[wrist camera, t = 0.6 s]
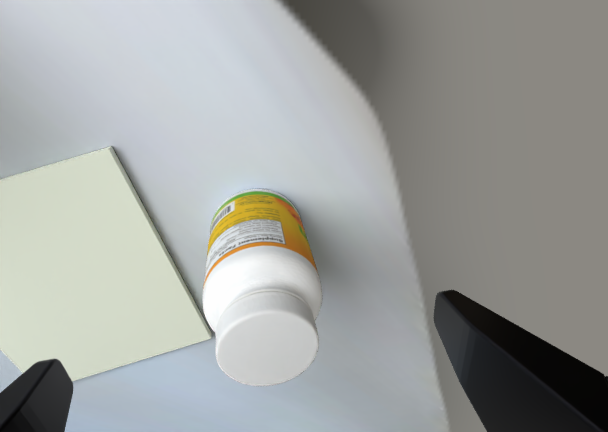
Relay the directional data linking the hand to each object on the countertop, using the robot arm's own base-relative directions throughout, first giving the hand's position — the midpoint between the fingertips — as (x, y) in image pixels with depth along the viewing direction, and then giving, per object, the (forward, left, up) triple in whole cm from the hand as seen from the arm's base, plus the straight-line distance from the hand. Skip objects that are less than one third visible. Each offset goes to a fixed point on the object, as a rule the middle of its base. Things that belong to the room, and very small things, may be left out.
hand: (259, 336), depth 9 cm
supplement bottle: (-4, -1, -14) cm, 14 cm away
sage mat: (-10, +8, -13) cm, 19 cm away
